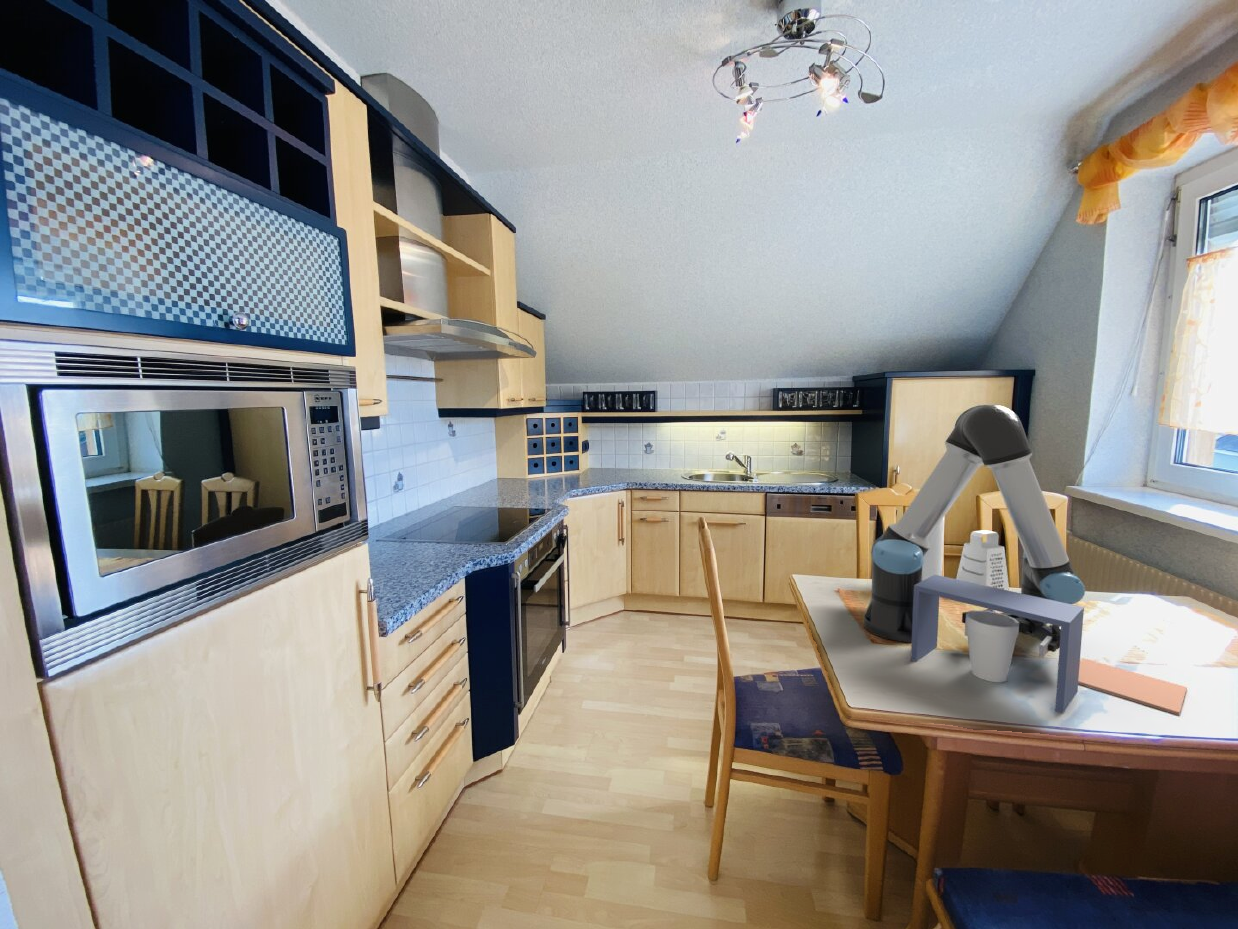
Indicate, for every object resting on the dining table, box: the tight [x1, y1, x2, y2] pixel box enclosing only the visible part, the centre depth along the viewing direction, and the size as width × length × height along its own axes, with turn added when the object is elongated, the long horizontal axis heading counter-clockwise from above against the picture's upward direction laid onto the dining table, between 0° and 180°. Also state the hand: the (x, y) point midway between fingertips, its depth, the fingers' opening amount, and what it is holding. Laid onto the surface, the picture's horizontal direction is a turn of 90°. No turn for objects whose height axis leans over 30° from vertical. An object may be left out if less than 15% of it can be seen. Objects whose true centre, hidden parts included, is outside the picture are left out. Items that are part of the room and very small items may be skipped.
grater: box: [955, 529, 1010, 591], centre depth 159 cm, size 10×10×20 cm
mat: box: [1078, 657, 1188, 716], centre depth 105 cm, size 16×14×1 cm
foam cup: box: [964, 609, 1020, 683], centre depth 110 cm, size 10×9×13 cm
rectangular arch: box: [910, 575, 1085, 714], centre depth 109 cm, size 27×12×18 cm, turn 37°
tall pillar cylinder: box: [922, 516, 946, 581], centre depth 162 cm, size 11×11×25 cm
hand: (1002, 640), depth 111 cm, fingers open, 13 cm apart
